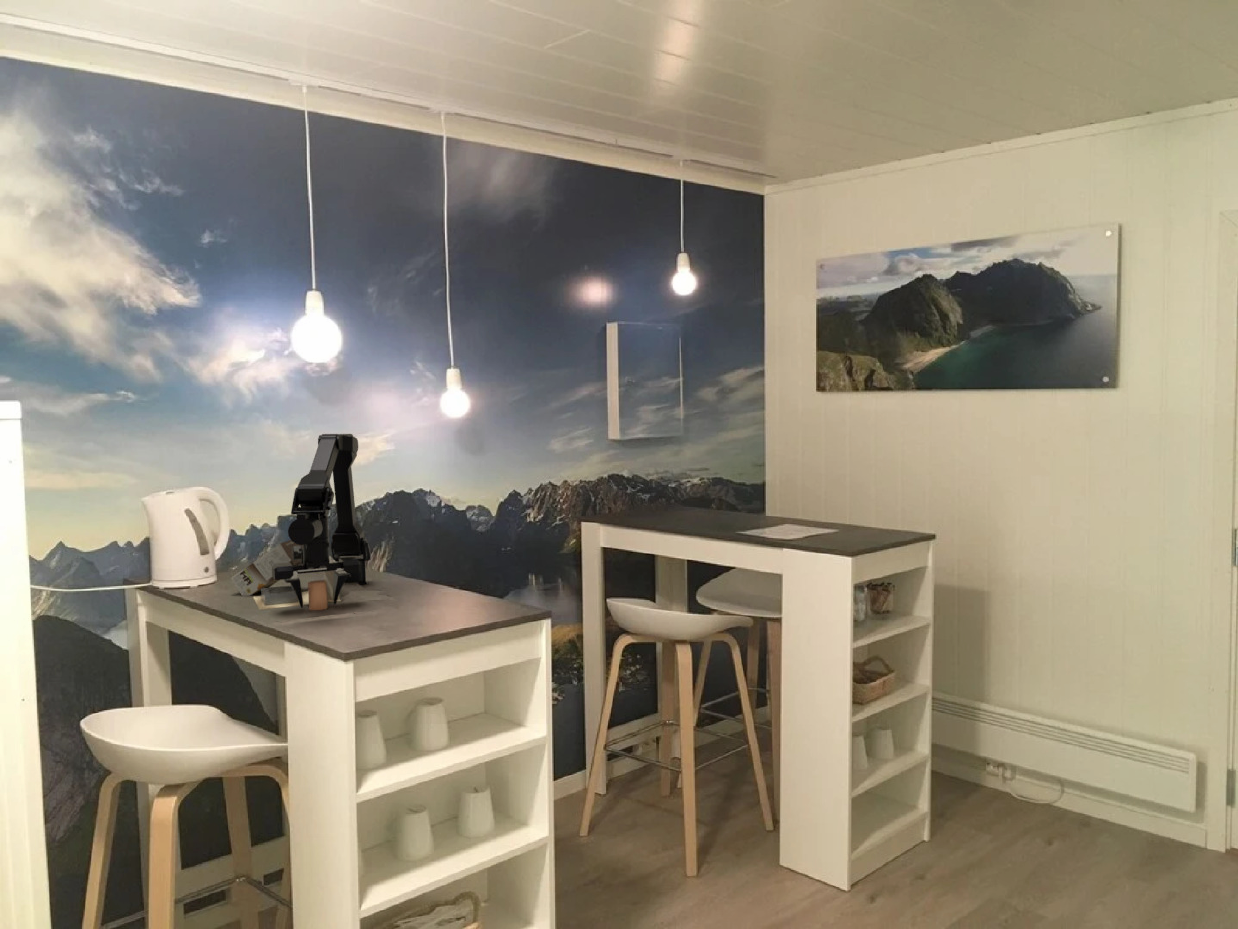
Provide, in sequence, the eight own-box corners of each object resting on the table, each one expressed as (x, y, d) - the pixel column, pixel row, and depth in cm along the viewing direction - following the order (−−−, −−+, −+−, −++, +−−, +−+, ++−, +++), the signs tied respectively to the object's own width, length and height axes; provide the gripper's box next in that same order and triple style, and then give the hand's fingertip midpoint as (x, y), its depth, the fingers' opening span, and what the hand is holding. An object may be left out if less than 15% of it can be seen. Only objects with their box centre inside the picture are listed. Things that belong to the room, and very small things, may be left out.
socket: (296, 595, 235) (295, 585, 235) (301, 601, 228) (300, 591, 228) (261, 598, 232) (260, 588, 231) (265, 605, 224) (264, 594, 224)
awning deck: (330, 592, 242) (328, 554, 241) (341, 605, 229) (339, 564, 228) (253, 600, 234) (251, 561, 233) (260, 613, 221) (258, 572, 220)
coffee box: (244, 600, 235) (294, 565, 232) (229, 578, 235) (279, 543, 232) (264, 591, 244) (312, 558, 241) (250, 570, 244) (298, 536, 241)
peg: (326, 609, 224) (324, 579, 223) (329, 613, 221) (327, 582, 220) (307, 611, 222) (306, 581, 222) (310, 615, 219) (309, 584, 218)
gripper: (350, 529, 231) (353, 594, 233) (267, 536, 223) (270, 603, 224) (360, 536, 221) (362, 603, 223) (273, 543, 213) (276, 613, 214)
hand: (318, 605), depth 221 cm, fingers open, 7 cm apart
